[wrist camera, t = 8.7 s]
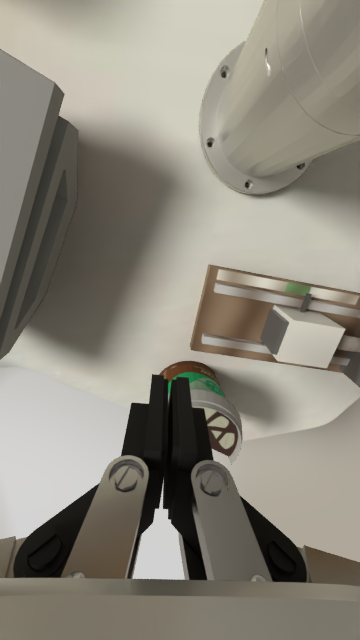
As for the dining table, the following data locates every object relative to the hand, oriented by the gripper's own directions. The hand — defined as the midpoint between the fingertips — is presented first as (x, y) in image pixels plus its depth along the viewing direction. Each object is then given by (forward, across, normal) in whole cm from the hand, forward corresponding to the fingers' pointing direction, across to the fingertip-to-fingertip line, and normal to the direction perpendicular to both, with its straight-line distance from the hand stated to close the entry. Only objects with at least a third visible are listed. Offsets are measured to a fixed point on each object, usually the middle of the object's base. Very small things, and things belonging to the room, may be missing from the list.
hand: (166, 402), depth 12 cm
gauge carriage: (+20, -16, +2) cm, 25 cm away
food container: (+21, -6, +13) cm, 25 cm away
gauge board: (+21, -16, +3) cm, 27 cm away
